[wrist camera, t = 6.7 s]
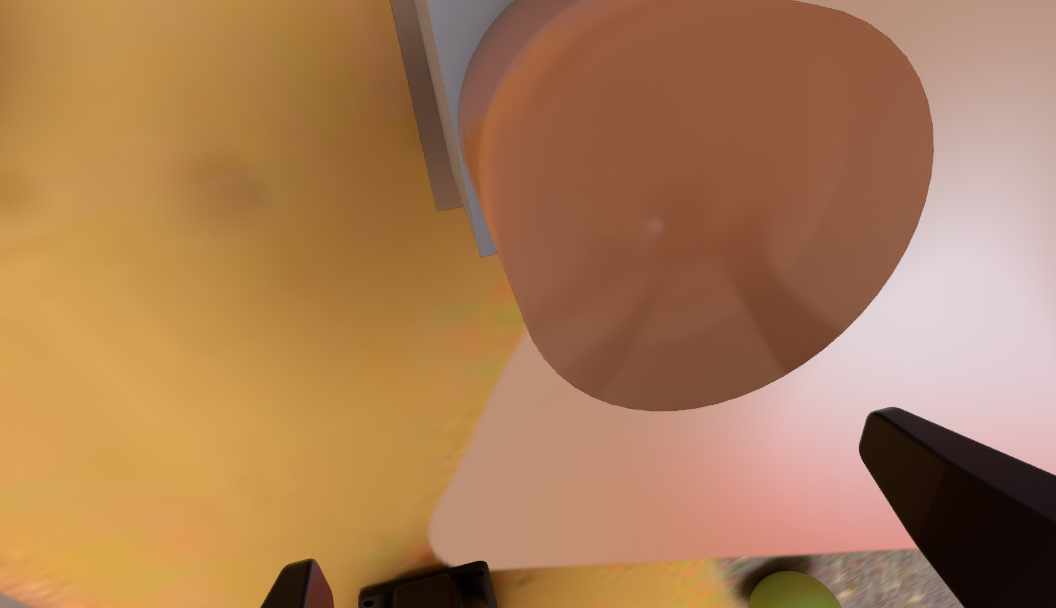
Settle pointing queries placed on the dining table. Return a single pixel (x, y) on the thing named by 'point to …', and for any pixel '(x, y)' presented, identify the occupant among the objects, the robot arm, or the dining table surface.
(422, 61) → the walnut base block
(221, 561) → the dining table surface
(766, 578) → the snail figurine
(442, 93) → the slate cube
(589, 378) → the terracotta cylinder
